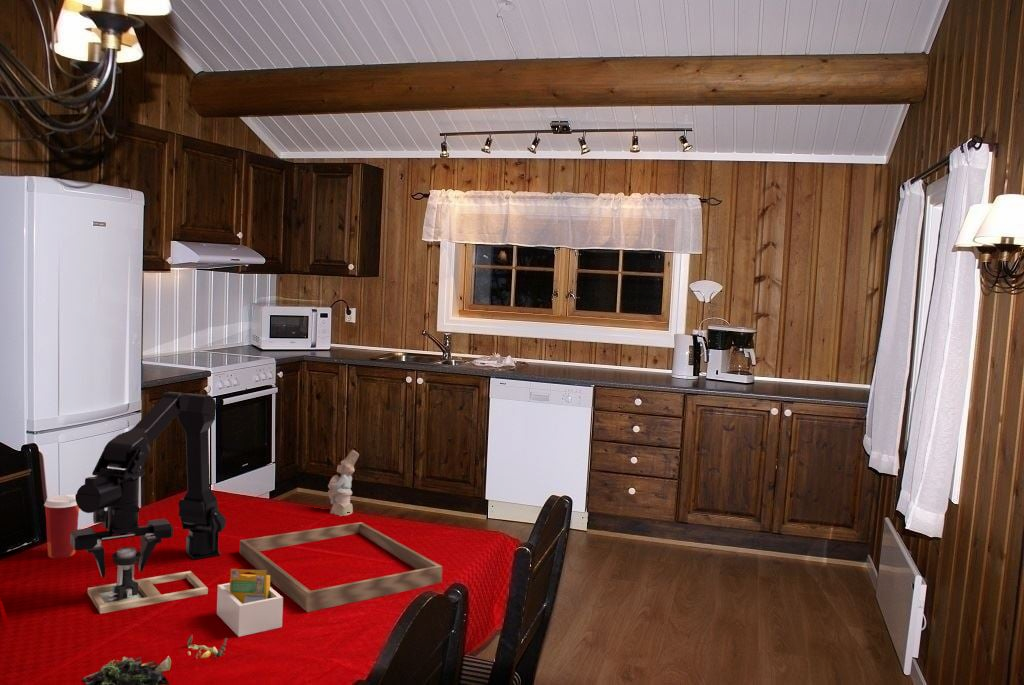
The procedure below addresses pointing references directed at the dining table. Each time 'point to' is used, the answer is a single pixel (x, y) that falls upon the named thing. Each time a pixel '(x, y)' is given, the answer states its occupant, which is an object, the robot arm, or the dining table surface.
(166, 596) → the wooden double frame
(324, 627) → the dining table surface
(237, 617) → the crayon stand
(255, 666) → the dining table surface
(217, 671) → the dining table surface
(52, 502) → the paper cup
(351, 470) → the figurine
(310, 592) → the tray rim
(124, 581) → the push button
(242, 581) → the crayon box
